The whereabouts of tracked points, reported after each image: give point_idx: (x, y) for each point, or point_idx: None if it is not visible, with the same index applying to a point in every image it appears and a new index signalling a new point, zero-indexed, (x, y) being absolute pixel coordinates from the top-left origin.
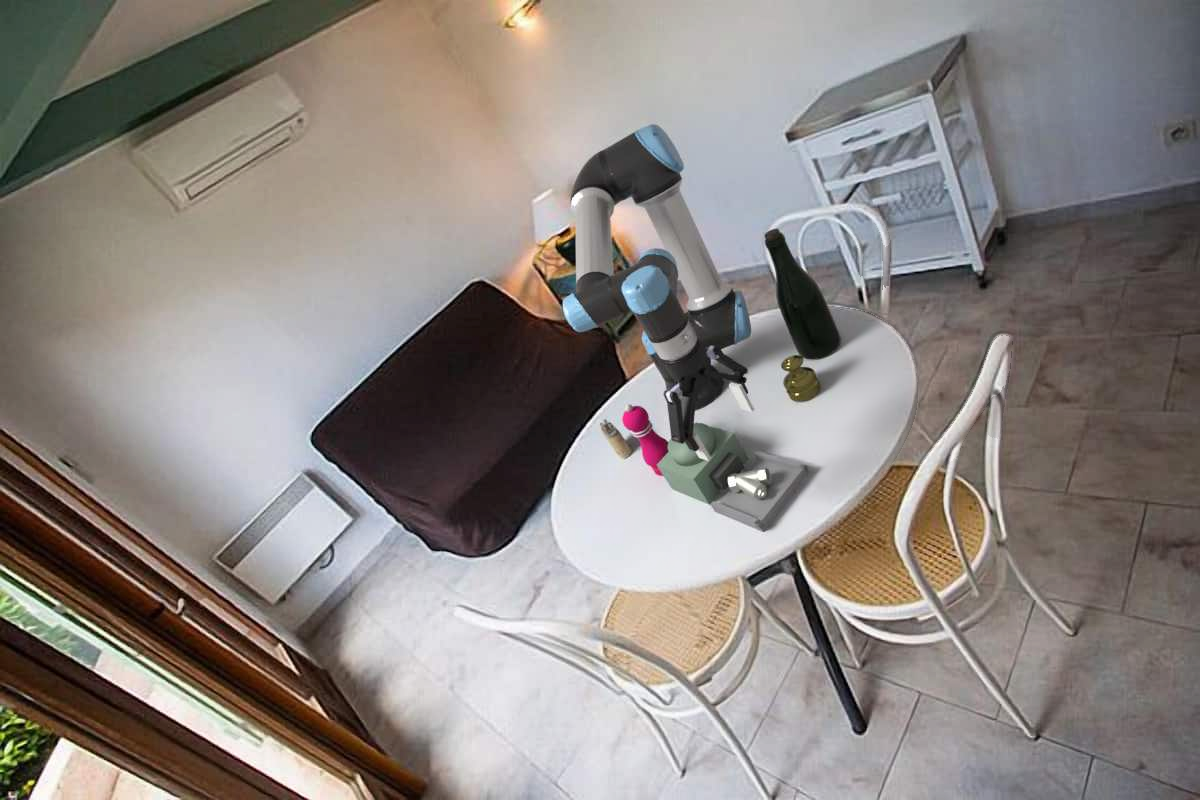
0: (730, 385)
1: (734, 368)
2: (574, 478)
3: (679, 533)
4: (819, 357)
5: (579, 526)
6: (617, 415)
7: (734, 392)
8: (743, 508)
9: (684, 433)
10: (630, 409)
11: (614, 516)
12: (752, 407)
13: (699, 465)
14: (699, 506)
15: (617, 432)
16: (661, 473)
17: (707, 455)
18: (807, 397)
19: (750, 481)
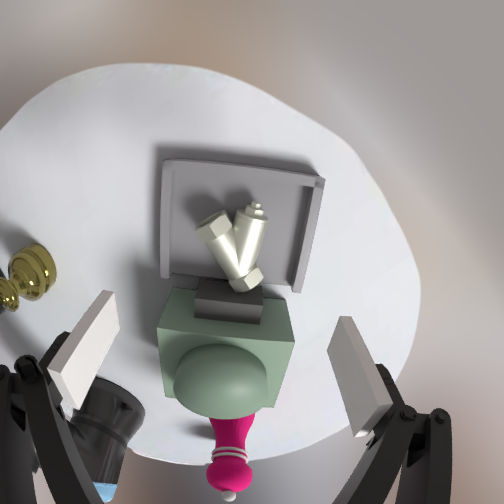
0: (76, 404)
1: (9, 427)
2: (279, 450)
3: (346, 311)
4: (1, 274)
5: (344, 416)
6: (183, 453)
7: (89, 377)
8: (285, 234)
9: (430, 435)
10: (230, 493)
11: (327, 398)
12: (101, 297)
13: (258, 349)
14: (292, 312)
15: None
16: None
17: (351, 329)
18: (44, 253)
19: (244, 240)
